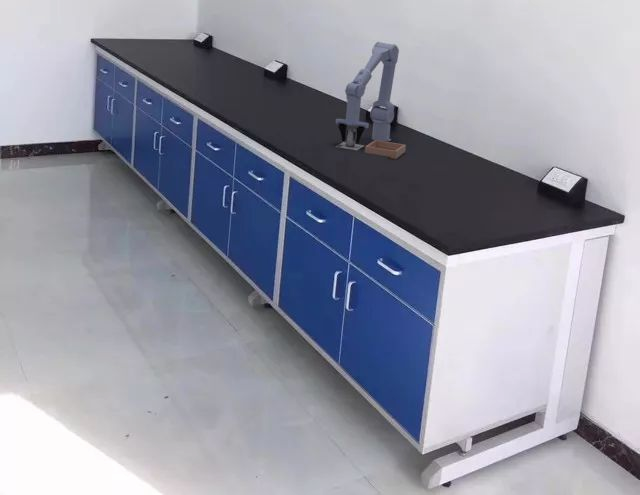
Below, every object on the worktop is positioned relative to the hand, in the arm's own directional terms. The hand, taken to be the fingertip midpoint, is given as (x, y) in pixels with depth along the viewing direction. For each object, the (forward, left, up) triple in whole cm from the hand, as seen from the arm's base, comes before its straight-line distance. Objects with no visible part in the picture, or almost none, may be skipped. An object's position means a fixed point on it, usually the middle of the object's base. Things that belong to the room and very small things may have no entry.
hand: (350, 142), depth 345 cm
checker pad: (0, 0, -3) cm, 3 cm away
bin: (0, +16, -3) cm, 16 cm away
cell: (0, 0, -2) cm, 2 cm away
